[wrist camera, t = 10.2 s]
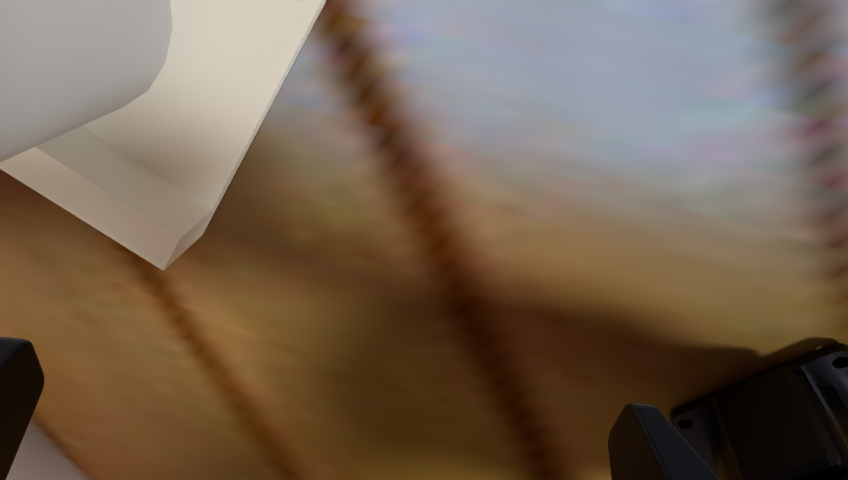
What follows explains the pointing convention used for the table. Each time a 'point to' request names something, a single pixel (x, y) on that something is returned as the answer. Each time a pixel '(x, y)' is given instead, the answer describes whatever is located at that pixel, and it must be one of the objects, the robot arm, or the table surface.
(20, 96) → the can
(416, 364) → the table surface
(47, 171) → the divider tray
